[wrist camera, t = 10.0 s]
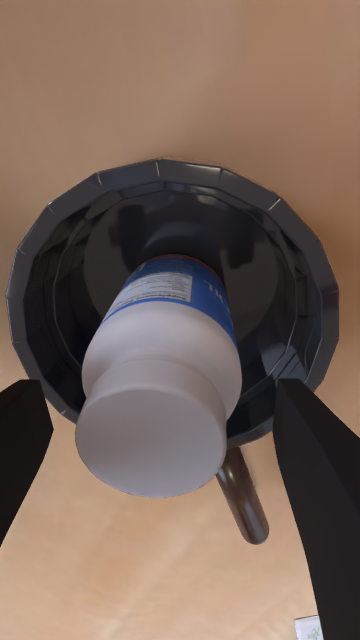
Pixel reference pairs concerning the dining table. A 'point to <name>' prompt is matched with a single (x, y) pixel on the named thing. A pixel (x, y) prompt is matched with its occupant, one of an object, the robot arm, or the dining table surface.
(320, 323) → the black shallow round container
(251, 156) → the dining table surface
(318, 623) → the syrup box
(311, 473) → the robot arm
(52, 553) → the dining table surface
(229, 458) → the handle
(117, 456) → the pill bottle
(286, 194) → the dining table surface
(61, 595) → the dining table surface
